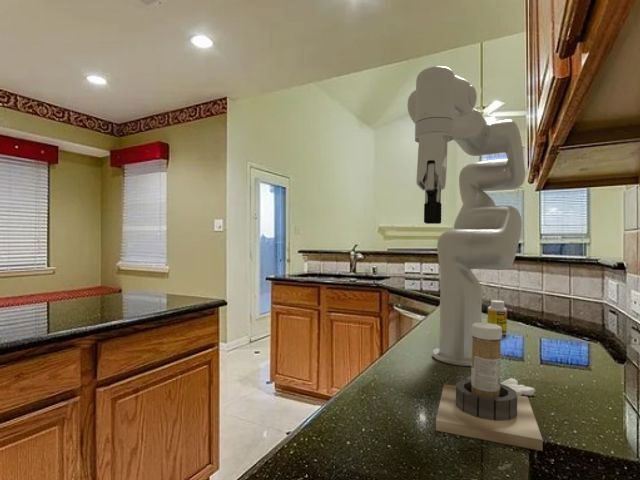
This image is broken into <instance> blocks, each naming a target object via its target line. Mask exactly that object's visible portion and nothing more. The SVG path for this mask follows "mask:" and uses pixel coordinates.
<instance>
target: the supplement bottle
mask: <svg viewBox="0 0 640 480" xmlns="http://www.w3.org/2000/svg"><path fill="white" fill-rule="evenodd" d="M507 321H508V309H507V308H506V307H505V301H503V300H497V299H495V300H490V306H488V307H487V323H491V324H496V325H499V326H501V327H502V336H504V335H505V336H506V334H507V329H508V328H507V325H508V323H507Z"/></svg>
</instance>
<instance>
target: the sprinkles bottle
mask: <svg viewBox="0 0 640 480" xmlns="http://www.w3.org/2000/svg"><path fill="white" fill-rule="evenodd" d="M471 335H472V338H473V339H472V341H473V342H472V366H470V367H471V368H470V369H471V370H470V371H471V374H470V375H471V376H470V379H471V385H472V387H471V388H472V389H471V393H474V394H477V395H479V396H485V397H492V398H496V397H500V383H501V376H502V375H501V371H502V370H501V367H502V366H501V365H502V364H501V362H502V357H501V354H502V353H501V341H502V338H503V335H502V327H501V326H499V325H496V324H491V323H488V322H481V323H474V324H472V330H471Z"/></svg>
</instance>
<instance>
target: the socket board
mask: <svg viewBox="0 0 640 480" xmlns="http://www.w3.org/2000/svg"><path fill="white" fill-rule="evenodd" d="M471 387H472V385H471V378H469V379H467V378H466V379H462V380H460V381H457V382H456V385H450V384H445V383H444V384H443V385H442V390H441V391H442V392H441V395H440V400H439V405H438V410H437V413H436V418H435V431H437V432H443V433H449V434H453V435H459V436H463V437H467V438H474V439H477V440H478V439H479V440H484V441H490V442H494V443H498V444H499V443H500V444H505V445H510V446H515V447H519V448H526V449H530V450H536V451H540V452H543V451H544V450H543V446H544V445H543V444H544V443H543V441H544V440H543V437H542V434H541V431H540V428H539V425H538V422H537V419H536V416H535V414H534V412H533V408H532V406H531V402H530V399H529V397H528V396H526V395H524V396H523V395H521V396H518V395H517V393H516V391H515V390H513V389H512V388H510V387H508V386H506V385H503V384H500V397H496V398H492V397H485V396H479V395H477V394H474V393H471V389H472V388H471Z"/></svg>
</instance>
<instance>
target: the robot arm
mask: <svg viewBox="0 0 640 480" xmlns="http://www.w3.org/2000/svg"><path fill="white" fill-rule="evenodd" d="M477 97H478V95H477V91H476V87H475V86H474V85H472V83H471V82H470V81H469V80H467V79H465V78H463V77H460V76H458V75H456V74H455V73H454V71H453V70H452V69H451V68H449V67H447V66H441V65H437V66H430V67H427V68H425V69H422V71H420V72H419V73H418V75H417V77H416V81H415V90H412V92H411V93H410V95H409V97H408V99H407V106H406V107H407V112H408V115H409V118H410V119H411V121H412V122H413V124H414V126H415V127H414V141H415V142H416V143H418V147H417V166H416V186H417V187H418V188H419V189H420V190H422V191H424V203H423V207H424V208H423V223H425V224H426V225H427V224H428V225H432V224H433V225H434V224H435V225H436V224H437V225H440V224H441V223H442V201H441V199H442V190H444V189H446V182H447V170H448V169H447V168H448V143H449V142H452V141H455V143H456V144H457V145H458V146H459V147H460V148H461V149H462V151H463V152H464V153H466V154H467V155H469V156H472V157H473V156H474V157H483V156H489V155H490V156H492V155H498V154H499V155H500V154H501V155H502V154H506V158H501V159H492V160H484V161H475V162H472V163H469V164H466V165H465V166H463V168H461V170H460V172H459V175H458V185H459V194H460V198H461V202H462V206H461V208H460V209H459V212H458V214H457V216H456V219H455V220H454V224H453V229H449V230H446V231H444V232H443V233H441V234H440V236H439V237H438V239H437V244H436V249H437V251H436V252H437V258H438V265H439V273H440V274H439V276H440V277H439V278H440V288H439V289H440V293H439V294H440V295H439V297H440V299H439V300H440V301H439V346H438V347H435V348H434V349H433V350H432V357H433V358H434V359H436V360H437V361H440V362H442V363H445V364H450V365H456V366H461V367H472V342H473V341H472V339H473V338H472V335H471V330H472V324H474V323H482V308H483V307H482V306H483V305H482V303H483V302H482V301H483V300H482V299H483V298H482V297H483V295H482V293H483V290H482V285H481V283H480V281H479V280H478V278H477V277H476V275H475V273H474V272H473V271H472V270H489V271H505V270H509V268H511V266H512V265H513V264H514V262H515V259H516V255H517V251H518V247H519V243H520V239H521V234H522V230H523V229H522V228H523V223H522V215H521V214H520V212H519V210H518V208H516V207H514V206H511V205H496V203H495V200H493V199H492V197H491V196H489V194H488V193H486V192H488V191H489V192H493V191H504V190H505V191H506V190H507V191H508V190H516V189H518V188H521V187H522V185H524V183H525V179H526V167H525V160H524V152H523V149H524V148H523V143H522V137H521V133H520V129H519V126H518V124H517V123H516V122H515V121H514V120H513V119H503V120H498V121H491V122H487V120H486V118H485V117H484V116H483V114H482V113H481V111H479V110H477V109H476V108H475V107H476V103H477Z"/></svg>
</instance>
